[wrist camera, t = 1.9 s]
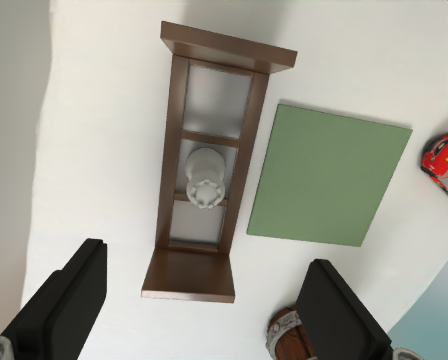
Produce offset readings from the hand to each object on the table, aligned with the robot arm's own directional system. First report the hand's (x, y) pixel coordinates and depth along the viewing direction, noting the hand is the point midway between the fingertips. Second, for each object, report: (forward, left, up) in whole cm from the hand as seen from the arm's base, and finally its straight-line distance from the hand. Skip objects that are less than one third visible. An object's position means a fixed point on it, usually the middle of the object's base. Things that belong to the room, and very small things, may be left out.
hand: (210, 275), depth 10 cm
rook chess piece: (0, 0, -17) cm, 17 cm away
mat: (-7, +12, -17) cm, 22 cm away
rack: (0, 0, -17) cm, 17 cm away
